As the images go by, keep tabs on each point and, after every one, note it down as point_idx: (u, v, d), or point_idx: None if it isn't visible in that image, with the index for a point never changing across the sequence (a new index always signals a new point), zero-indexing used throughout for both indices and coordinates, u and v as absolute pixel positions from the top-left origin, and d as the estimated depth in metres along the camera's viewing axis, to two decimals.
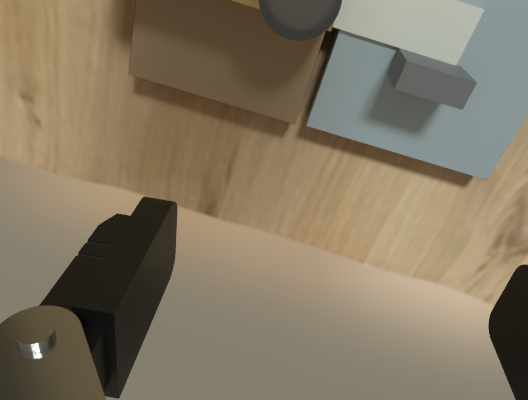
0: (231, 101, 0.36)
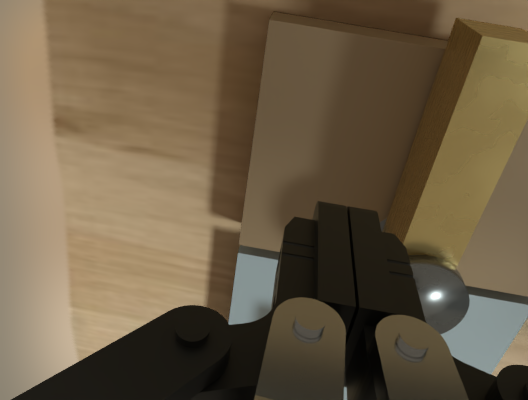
0: (254, 172, 0.26)
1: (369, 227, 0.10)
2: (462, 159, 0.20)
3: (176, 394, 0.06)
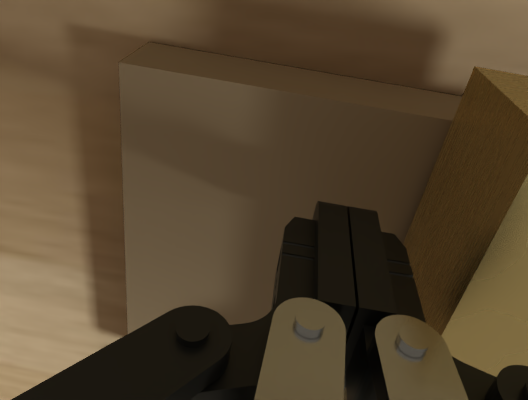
0: (135, 298, 0.16)
1: (369, 227, 0.10)
2: (484, 360, 0.10)
3: (176, 394, 0.06)
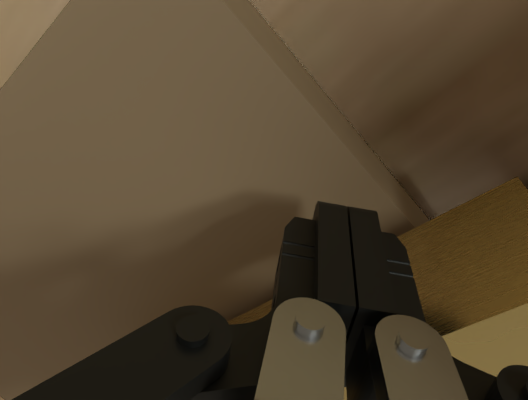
0: None
1: (369, 227, 0.10)
2: None
3: (177, 394, 0.06)
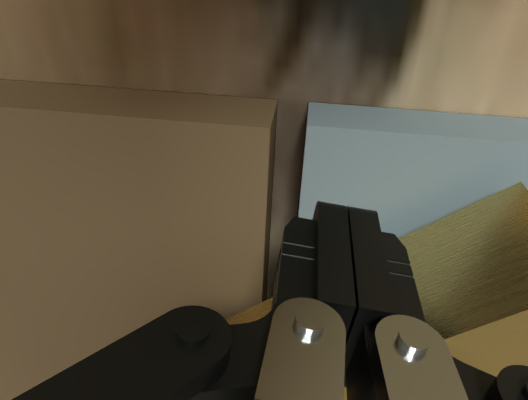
0: None
1: (369, 227, 0.10)
2: None
3: (176, 394, 0.06)
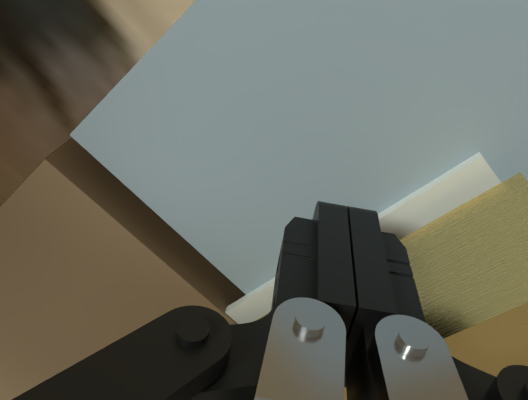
0: None
1: (369, 227, 0.10)
2: None
3: (177, 394, 0.06)
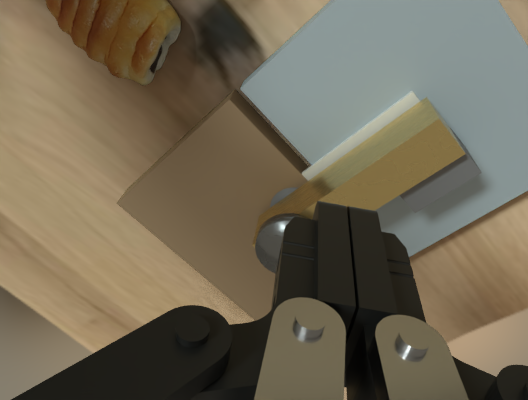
0: None
1: (369, 227, 0.10)
2: (378, 178, 0.29)
3: (176, 394, 0.06)
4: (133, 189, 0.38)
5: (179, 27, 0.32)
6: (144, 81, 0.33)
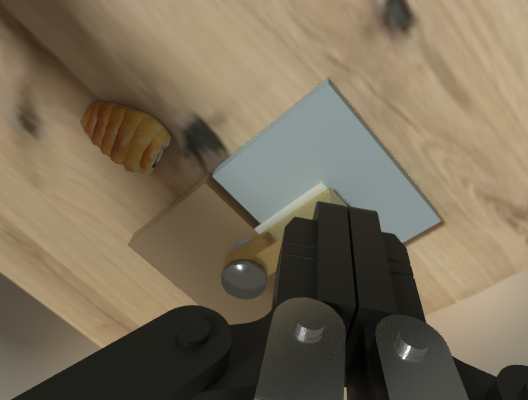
0: None
1: (369, 227, 0.10)
2: None
3: (177, 394, 0.06)
4: (139, 236, 0.54)
5: (169, 139, 0.49)
6: (148, 173, 0.50)
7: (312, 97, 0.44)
